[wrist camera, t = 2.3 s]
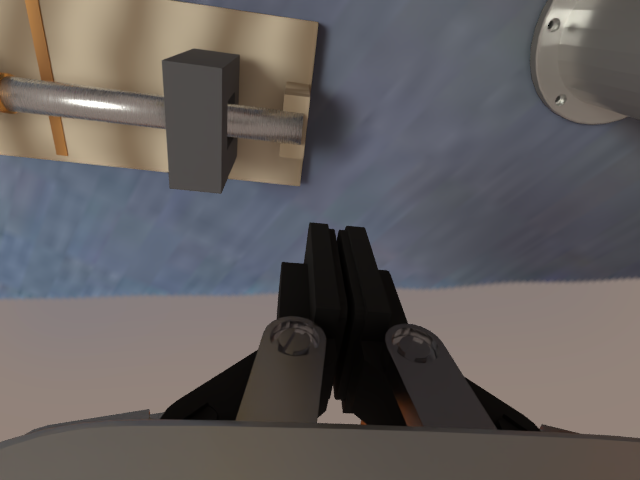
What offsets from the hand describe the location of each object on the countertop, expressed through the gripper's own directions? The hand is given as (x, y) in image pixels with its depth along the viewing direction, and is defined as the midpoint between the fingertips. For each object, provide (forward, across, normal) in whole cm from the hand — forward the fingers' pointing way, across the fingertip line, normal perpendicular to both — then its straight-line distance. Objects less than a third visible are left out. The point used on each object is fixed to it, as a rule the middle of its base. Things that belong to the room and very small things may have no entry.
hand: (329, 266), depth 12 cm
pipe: (+17, +13, 0) cm, 21 cm away
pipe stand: (+22, +13, 0) cm, 25 cm away
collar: (+19, +7, 0) cm, 20 cm away
